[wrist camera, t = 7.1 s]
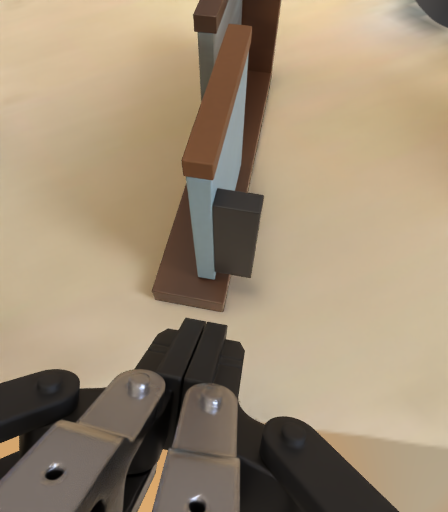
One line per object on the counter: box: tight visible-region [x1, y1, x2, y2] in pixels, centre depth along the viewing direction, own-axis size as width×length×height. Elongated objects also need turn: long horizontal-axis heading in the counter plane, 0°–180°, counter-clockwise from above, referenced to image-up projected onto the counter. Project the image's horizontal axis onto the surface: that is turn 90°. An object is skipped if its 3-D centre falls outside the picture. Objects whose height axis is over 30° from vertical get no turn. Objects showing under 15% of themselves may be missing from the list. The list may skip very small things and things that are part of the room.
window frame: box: [152, 0, 281, 312], centre depth 27 cm, size 5×27×13 cm, turn 169°
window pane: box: [181, 24, 264, 280], centre depth 23 cm, size 4×11×11 cm, turn 169°
